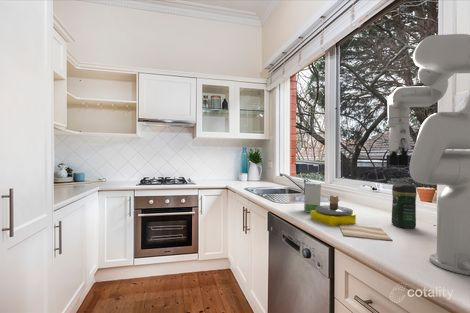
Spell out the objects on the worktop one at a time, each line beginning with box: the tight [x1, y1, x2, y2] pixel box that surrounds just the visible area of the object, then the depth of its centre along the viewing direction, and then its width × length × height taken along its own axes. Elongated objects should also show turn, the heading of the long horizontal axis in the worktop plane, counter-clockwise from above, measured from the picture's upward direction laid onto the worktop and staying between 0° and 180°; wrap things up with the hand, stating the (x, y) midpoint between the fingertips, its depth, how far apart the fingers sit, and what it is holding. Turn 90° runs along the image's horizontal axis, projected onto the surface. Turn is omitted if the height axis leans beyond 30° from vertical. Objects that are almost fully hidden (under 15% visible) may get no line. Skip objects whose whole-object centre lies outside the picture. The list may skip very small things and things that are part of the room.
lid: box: [316, 194, 354, 216], centre depth 117 cm, size 16×16×7 cm
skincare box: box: [303, 181, 322, 213], centre depth 137 cm, size 8×7×16 cm
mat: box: [338, 224, 393, 242], centre depth 100 cm, size 16×16×1 cm
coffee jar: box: [391, 182, 418, 229], centre depth 110 cm, size 10×8×19 cm
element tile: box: [310, 210, 357, 227], centre depth 118 cm, size 15×15×5 cm
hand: (398, 165), depth 103 cm, fingers open, 9 cm apart
